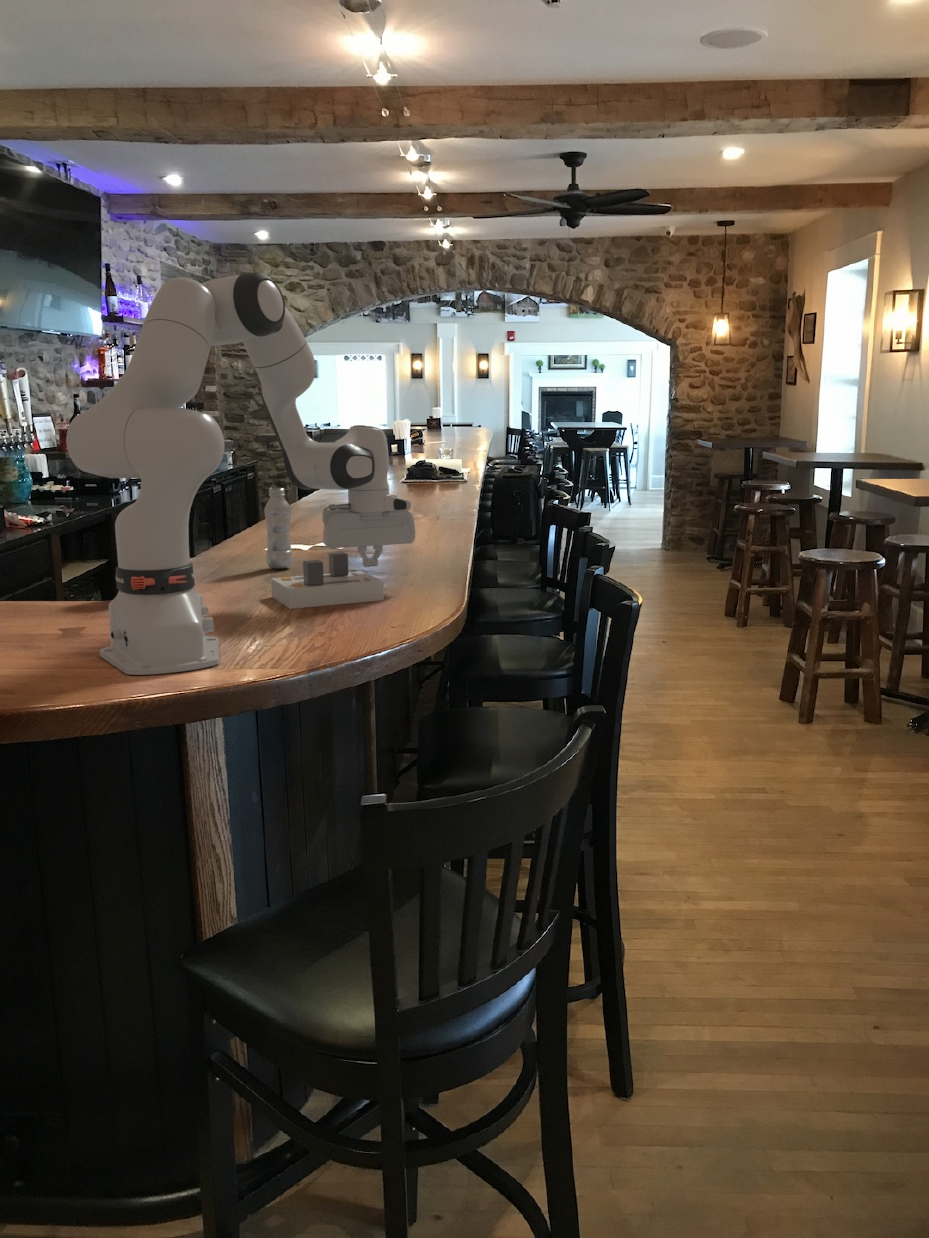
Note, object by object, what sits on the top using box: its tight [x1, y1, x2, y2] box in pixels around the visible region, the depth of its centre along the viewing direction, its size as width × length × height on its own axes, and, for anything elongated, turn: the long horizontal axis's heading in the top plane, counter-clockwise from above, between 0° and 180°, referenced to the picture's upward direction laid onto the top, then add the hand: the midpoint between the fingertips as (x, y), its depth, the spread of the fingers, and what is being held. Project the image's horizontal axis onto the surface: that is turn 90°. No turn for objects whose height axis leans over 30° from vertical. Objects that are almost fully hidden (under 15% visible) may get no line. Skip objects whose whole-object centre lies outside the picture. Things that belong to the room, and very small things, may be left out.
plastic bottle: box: [263, 487, 294, 570], centre depth 231 cm, size 6×7×20 cm
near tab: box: [302, 559, 324, 585], centre depth 190 cm, size 3×3×4 cm
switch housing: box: [270, 570, 385, 610], centre depth 196 cm, size 14×20×4 cm
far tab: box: [328, 551, 349, 576], centre depth 200 cm, size 3×3×4 cm
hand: (370, 566), depth 203 cm, fingers closed
